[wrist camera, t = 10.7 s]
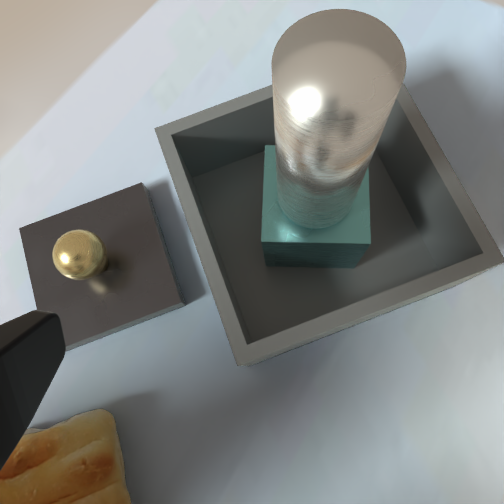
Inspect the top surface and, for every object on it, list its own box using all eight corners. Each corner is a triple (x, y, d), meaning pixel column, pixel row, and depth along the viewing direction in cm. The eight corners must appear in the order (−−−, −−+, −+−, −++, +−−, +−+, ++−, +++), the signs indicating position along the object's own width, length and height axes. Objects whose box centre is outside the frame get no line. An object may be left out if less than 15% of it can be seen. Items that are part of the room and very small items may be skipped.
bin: (454, 286, 21) (505, 261, 16) (248, 366, 20) (237, 365, 16) (361, 109, 24) (380, 44, 19) (181, 177, 24) (154, 128, 19)
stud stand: (185, 305, 22) (164, 291, 18) (57, 354, 21) (7, 351, 18) (147, 189, 24) (120, 155, 20) (30, 234, 23) (-21, 207, 19)
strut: (353, 268, 21) (439, 144, 9) (265, 266, 21) (242, 144, 10) (352, 187, 22) (425, -13, 10) (268, 186, 22) (251, -8, 11)
